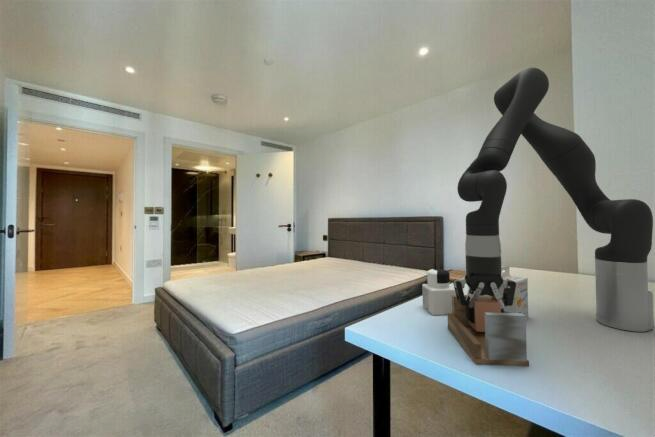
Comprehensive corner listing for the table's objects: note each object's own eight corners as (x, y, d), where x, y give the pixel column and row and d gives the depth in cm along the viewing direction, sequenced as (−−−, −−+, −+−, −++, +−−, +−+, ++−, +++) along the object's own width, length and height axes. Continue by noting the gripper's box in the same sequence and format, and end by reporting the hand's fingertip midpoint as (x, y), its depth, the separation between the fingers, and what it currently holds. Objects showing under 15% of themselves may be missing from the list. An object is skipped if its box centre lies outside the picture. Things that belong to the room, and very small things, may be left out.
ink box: (516, 324, 71) (515, 270, 71) (496, 319, 75) (495, 268, 75) (529, 317, 75) (527, 266, 75) (509, 312, 79) (508, 264, 79)
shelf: (487, 329, 68) (486, 291, 68) (529, 366, 51) (527, 315, 51) (447, 328, 69) (446, 291, 69) (475, 363, 53) (474, 314, 53)
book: (492, 324, 65) (491, 297, 66) (501, 332, 61) (500, 302, 61) (469, 324, 66) (468, 296, 66) (476, 331, 62) (475, 302, 62)
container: (445, 306, 87) (444, 267, 87) (457, 314, 79) (456, 272, 79) (422, 307, 86) (421, 268, 86) (432, 315, 79) (431, 272, 79)
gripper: (505, 251, 66) (507, 316, 66) (447, 251, 68) (448, 315, 68) (524, 255, 59) (526, 329, 59) (457, 255, 61) (459, 327, 61)
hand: (484, 321), depth 64 cm, fingers closed on book, 5 cm apart
